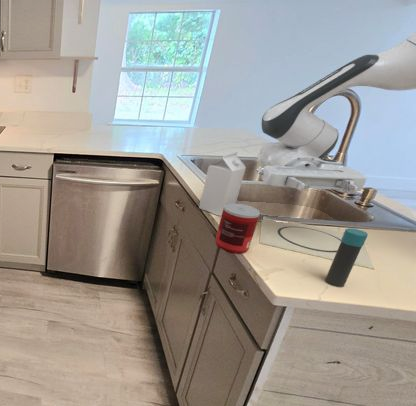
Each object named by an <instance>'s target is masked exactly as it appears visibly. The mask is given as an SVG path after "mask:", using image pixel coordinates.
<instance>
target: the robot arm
mask: <svg viewBox="0 0 416 406" xmlns="http://www.w3.org/2000/svg"><path fill="white" fill-rule="evenodd" d="M353 87H368V88H369V87H370V88H376V89H381V90H387V91H397V92H398V91H399V92H400V91H401V92H402V91H411V90H416V31H415V32H413V33H412V34H411V35H410V36H408V37H406V39H404V40H403V41H401V42H400V43H398V44H397V45H395V46H393V47H390V48H389V49H387V50H385V51H382V52H379V53H377V54H364V55H362V56H359V57H357V58H355V59H353V60H351V61H349V62H348V63H346V64H344V65H342V66H341V67H339V68H337V69H335V70H334V71H332V72H331V73H329V74H327V75H326V76H324V77H322V78H320V79H319V80H317V81H316V82H315V83H312V84H310V86H307V87H306V88H304V89H302V90H301V91H299V92H298V93H296V94H294V95H293V96H290V97H289V98H286V99H285V100H282V101H280V102H278V103H276V104H275V105H273V106H271V107H269V109H267V110H266V112H264V114H263V116H262V117H261V130H262V133H263V134H265V135H266V136H269V137H271V138H272V139H275V140H277V141H276V142H275V141H274V142H269V143H266V144H264V145H263V146H262V147H260V149H259V150H258V152H257V155H256V156H257V157H256V159H257V163H258V165H259V166H260V167H259V168H256V169H255V173H257V174H258V175H260V179H261V181H262V182H263V183H264V184H265V185H267V186H271V187H277V188H278V187H280V188H293V189H297V190H298V191H301V192H302V191H303V192H307V191H309V189H316V190H320V189H321V190H334V191H335V190H336V191H343V192H344V193H346V194H356V193H357V192H360V191H361V190H362V189H363V188H364V186H365V185H366V182H367V176H366V175H365V174H363V173H361V172H360V171H357V170H356V169H354V168H351V167H349V166H345V165H343V162H342V161H340V160H336V159H335V160H334V159H328V158H325V157H327V156H328V155H329V154H330V153H331V152H332V151H333V150H334V149H335V147H336V145H337V143H338V141H339V136H340V135H339V130H338V129H337V128H335V127H334V126H333V125H331V124H330V123H328V122H327V121H325V120H324V119H322V118H320V117H318V116H317V115H316V114H314V113H313V112H312V111H309V110H310V109H312V108H314V107H315V106H317V105H320V104H322V102H324V101H326V100H328V99H330V98H331V97H333V96H335V95H336V94H338V93H340V92H342V91H344V90H346V89H350V88H353Z"/></svg>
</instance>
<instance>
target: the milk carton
mask: <svg viewBox="0 0 416 406" xmlns="http://www.w3.org/2000/svg"><path fill="white" fill-rule="evenodd" d="M246 169H247V168H246V165H245V164H244V163H243V161H242V160H241V159H240V158H239V156H238V151H235V152H231V153H227V154H224V155H222V158H221V159H219V160H217V161H215V162H212V163H211V164H209V165H208V167H207V173H206V176H205V181H204V186H203V189H202V193H201V198H200V202H199V207H198V209H200V210H202V211H205V212H208V213H210V214H213V215H215V216H219V217H221V216H222V212H223V209H224V206H225V205H226V204H231V203H237V201H238V197H239V193H240V190H241V187H242V183H243V179H244V176H245V172H246Z"/></svg>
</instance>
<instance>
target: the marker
mask: <svg viewBox="0 0 416 406" xmlns="http://www.w3.org/2000/svg"><path fill="white" fill-rule="evenodd" d="M343 232H344V234H343V237H342V239H341V243H340V246H339V248H338V250H337V253H336V255H335V257H334V260H332V262H331V264H330V267H329V270H328V272H327V273H326V276H325V279H324V281H325V282H326V283H327V284H328V285H330V286H332V287H337V288H343V287H345V285H346V283H347V280H348V278H349V276H350V274H351V272H352V269H353V268H354V266H355V265H354V263H355V261H356V259H357V256H358V254H359V252H360V250H361V247H362V246H363V245H364V244H365V242H366V241H367V238H368V236H369V233H368V232H366V231H364V230H362V229H358V228H352V227H348V228H345V230H344V231H343Z"/></svg>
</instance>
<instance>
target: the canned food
mask: <svg viewBox="0 0 416 406" xmlns="http://www.w3.org/2000/svg"><path fill="white" fill-rule="evenodd" d="M260 214H261V213H260V210H259V209H258V208H255V207H253V206H251V205H249V204H243V203H237V202H236V203H231V204H226V205H225V206H224V209H223V212H222V216H220V220H219V224H218V228H217V232H216V234H215V235H216V236H215V240H214V241H215V245H216V246H217V248H219V249H220V250H223V251H224V252H228V253H232V254H245V253H247V252H248V251H249V249H250V247H251V244H252V241H253V237H254V234H255V231H256V228H257V225H258V222H259V218H260Z"/></svg>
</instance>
